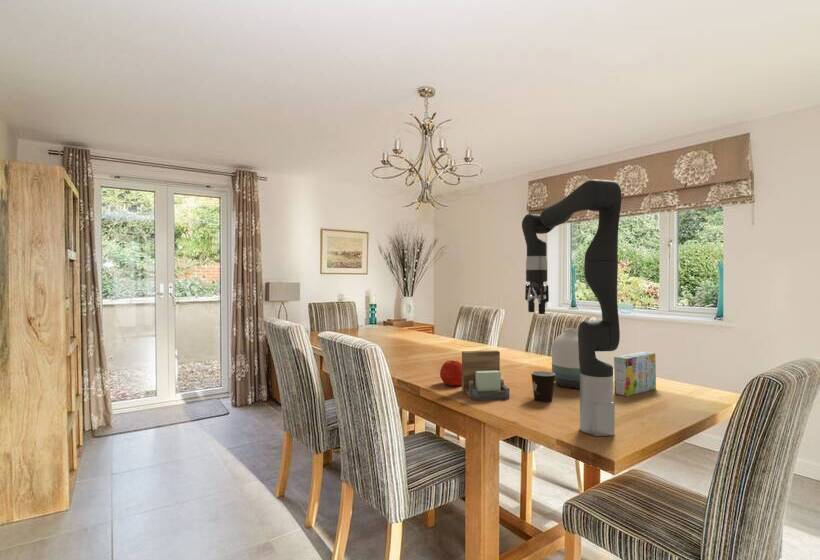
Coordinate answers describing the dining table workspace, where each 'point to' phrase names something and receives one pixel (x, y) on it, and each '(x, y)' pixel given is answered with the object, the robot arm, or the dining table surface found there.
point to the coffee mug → (543, 385)
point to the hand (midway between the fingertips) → (536, 313)
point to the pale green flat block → (488, 380)
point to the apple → (451, 373)
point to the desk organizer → (481, 362)
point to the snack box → (634, 373)
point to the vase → (566, 359)
